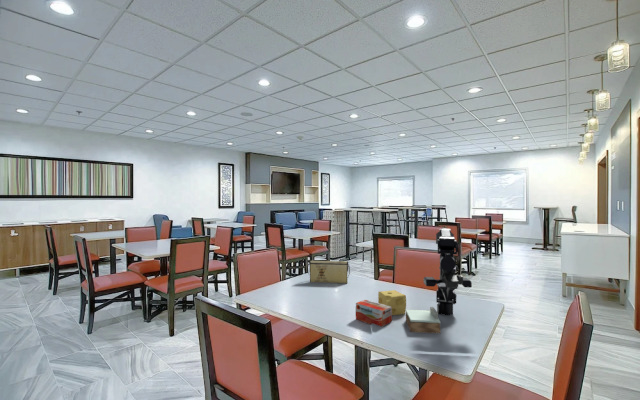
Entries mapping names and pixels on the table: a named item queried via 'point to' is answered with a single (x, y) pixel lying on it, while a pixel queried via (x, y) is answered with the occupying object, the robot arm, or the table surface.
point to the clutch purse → (328, 271)
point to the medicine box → (373, 313)
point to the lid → (423, 315)
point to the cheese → (393, 301)
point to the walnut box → (423, 326)
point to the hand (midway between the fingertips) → (447, 301)
